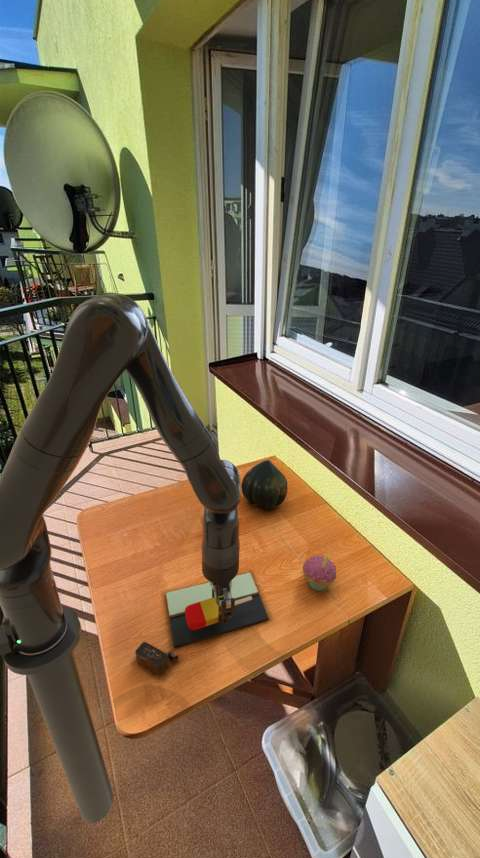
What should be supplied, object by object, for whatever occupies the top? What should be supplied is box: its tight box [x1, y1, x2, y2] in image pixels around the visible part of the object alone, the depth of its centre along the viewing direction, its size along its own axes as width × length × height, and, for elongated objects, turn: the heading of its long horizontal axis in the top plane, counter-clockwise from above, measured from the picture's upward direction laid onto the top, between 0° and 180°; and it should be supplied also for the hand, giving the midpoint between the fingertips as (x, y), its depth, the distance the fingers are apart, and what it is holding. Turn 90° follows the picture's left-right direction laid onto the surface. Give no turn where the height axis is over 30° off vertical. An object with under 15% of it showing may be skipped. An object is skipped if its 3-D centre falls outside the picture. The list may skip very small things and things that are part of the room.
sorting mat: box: [165, 572, 270, 649], centre depth 88 cm, size 21×14×1 cm, turn 112°
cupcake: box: [302, 553, 337, 591], centre depth 94 cm, size 9×8×12 cm
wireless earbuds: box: [134, 641, 180, 676], centre depth 75 cm, size 5×7×3 cm, turn 65°
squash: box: [240, 459, 288, 511], centre depth 123 cm, size 14×15×15 cm
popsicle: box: [185, 596, 252, 630], centre depth 84 cm, size 6×15×2 cm, turn 115°
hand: (220, 609), depth 84 cm, fingers closed on popsicle, 5 cm apart
